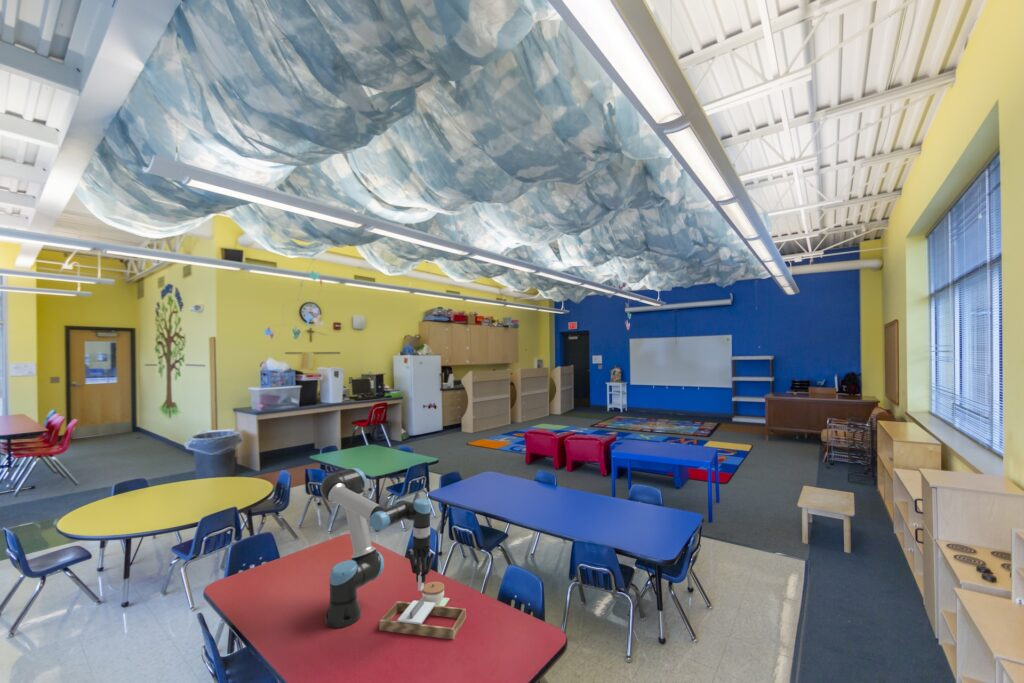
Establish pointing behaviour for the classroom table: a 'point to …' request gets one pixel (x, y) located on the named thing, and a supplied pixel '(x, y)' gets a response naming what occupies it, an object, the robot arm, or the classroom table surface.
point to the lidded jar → (433, 592)
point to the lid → (416, 612)
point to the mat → (444, 602)
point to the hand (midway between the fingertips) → (420, 589)
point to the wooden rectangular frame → (423, 629)
